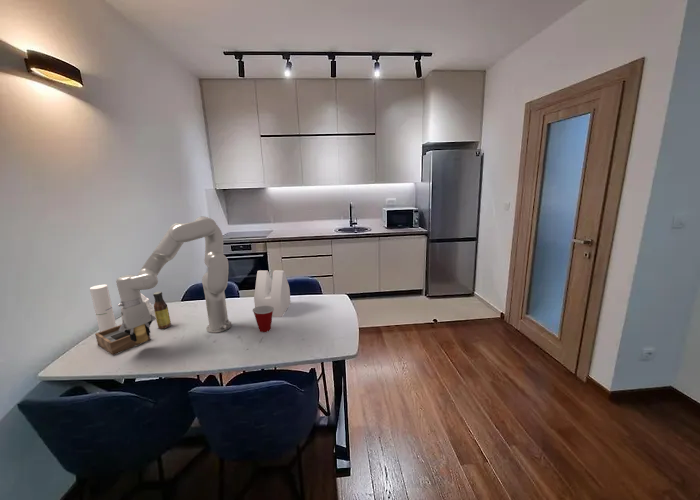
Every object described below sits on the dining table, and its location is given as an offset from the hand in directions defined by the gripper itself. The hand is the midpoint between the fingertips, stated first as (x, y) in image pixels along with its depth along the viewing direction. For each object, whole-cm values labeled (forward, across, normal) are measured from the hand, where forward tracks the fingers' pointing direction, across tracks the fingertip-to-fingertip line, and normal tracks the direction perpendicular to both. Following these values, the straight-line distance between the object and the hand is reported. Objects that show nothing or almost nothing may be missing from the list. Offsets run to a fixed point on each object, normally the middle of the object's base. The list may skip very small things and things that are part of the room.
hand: (141, 337), depth 140 cm
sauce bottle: (+7, +17, +16) cm, 25 cm away
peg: (+2, 0, 0) cm, 2 cm away
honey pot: (+7, +15, +37) cm, 41 cm away
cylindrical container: (+6, -1, +39) cm, 40 cm away
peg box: (+6, -2, +16) cm, 18 cm away
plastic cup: (+8, +43, -36) cm, 56 cm away
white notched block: (+9, +63, -21) cm, 67 cm away
